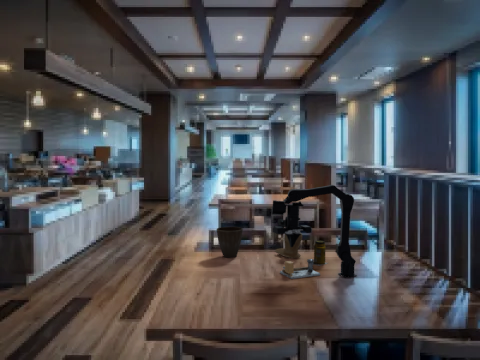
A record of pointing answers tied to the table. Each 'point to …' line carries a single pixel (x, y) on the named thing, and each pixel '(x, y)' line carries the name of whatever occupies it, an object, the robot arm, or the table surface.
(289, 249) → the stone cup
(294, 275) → the plate
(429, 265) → the table surface
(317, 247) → the condiment
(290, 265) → the leg
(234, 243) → the plant pot
